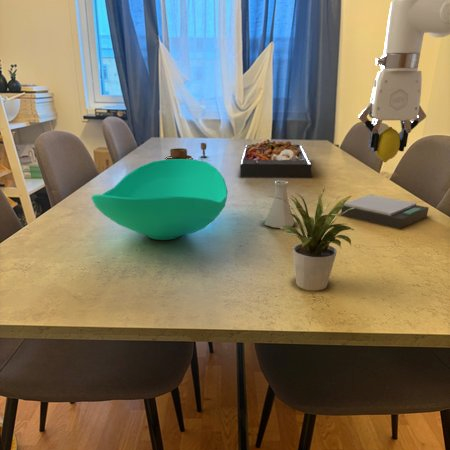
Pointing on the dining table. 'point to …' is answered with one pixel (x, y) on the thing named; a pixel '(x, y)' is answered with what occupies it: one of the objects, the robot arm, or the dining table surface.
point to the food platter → (275, 160)
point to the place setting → (184, 153)
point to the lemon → (388, 144)
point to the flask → (280, 208)
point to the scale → (384, 211)
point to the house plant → (316, 244)
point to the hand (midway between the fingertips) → (386, 149)
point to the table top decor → (166, 198)
